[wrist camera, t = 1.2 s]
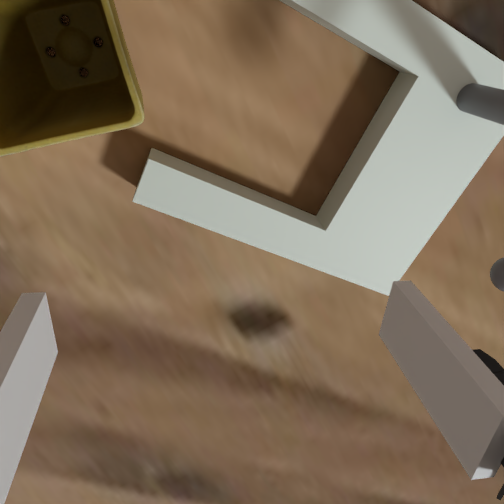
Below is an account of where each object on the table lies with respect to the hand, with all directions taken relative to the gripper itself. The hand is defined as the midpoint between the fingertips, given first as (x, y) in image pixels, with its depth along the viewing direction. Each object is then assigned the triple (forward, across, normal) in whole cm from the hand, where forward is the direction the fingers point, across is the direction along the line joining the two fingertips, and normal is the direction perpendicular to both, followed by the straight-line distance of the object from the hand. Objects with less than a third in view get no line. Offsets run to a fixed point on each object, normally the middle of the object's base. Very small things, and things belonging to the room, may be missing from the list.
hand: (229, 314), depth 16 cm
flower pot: (+20, -9, +8) cm, 23 cm away
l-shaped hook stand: (+20, +10, +2) cm, 22 cm away
